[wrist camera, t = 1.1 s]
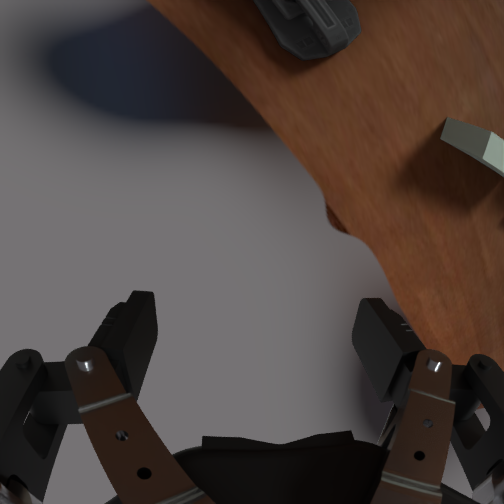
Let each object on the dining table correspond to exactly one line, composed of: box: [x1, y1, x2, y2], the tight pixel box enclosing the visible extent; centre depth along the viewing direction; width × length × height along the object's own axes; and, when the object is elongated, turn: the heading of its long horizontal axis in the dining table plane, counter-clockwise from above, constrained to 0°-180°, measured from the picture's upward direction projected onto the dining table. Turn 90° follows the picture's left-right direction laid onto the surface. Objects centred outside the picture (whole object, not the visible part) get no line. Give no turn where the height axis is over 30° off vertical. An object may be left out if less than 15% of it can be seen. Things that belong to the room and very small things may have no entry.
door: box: [440, 117, 504, 177], centre depth 25 cm, size 3×13×9 cm, turn 76°
